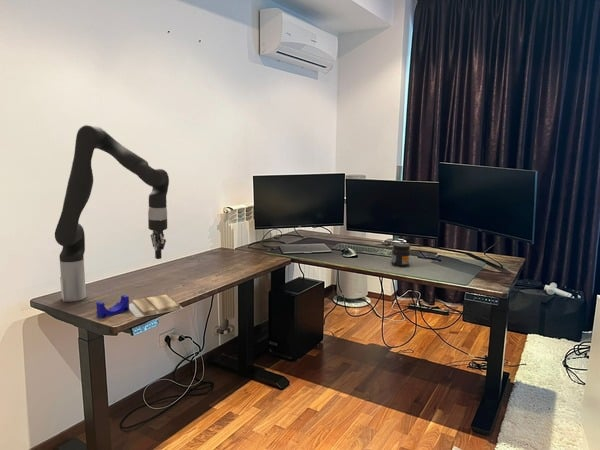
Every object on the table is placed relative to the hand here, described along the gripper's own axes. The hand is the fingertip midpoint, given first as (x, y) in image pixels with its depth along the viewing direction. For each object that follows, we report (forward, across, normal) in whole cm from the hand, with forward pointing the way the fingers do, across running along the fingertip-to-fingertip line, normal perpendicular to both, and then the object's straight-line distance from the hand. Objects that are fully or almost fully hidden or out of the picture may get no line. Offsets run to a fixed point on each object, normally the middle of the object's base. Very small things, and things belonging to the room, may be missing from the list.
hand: (158, 258), depth 195 cm
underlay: (+19, +4, -3) cm, 20 cm away
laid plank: (+19, +4, -7) cm, 21 cm away
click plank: (+19, +4, 0) cm, 19 cm away
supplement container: (+17, +8, +137) cm, 138 cm away
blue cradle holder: (+20, +2, -19) cm, 28 cm away
